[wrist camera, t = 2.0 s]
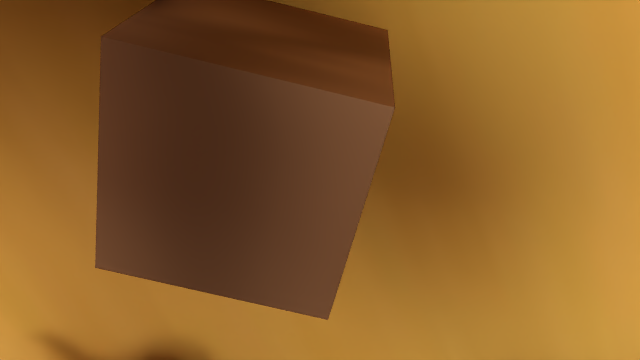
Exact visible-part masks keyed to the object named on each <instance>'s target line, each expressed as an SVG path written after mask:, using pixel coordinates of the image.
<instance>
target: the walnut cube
mask: <svg viewBox="0 0 640 360" xmlns="http://www.w3.org/2000/svg"><path fill="white" fill-rule="evenodd" d="M394 109H395V103H394V92H393V82H392V71H391V61H390V50H389V40H388V30H385V29H381V28H377V27H373V26H369V25H365V24H361V23H357V22H353V21H348V20H344V19H340V18H336V17H332V16H328V15H324V14H320V13H316V12H312V11H308V10H304V9H300V8H296V7H292V6H288V5H284V4H280V3H276V2H272V1H268V0H156V1H154V2H153V3H151V4H150V5H148V6H147V7H145V8H144V9H142V10H141V11H139V12H138V13H136V14H135V15H133V16H131V17H130V18H128V19H127V20H125V21H124V22H122V23H121V24H119V25H118V26H116V27H115V28H113V29H112V30H110V31H109V32H107V33H106V34H104V35H103V36H101V63H100V102H99V141H98V180H97V220H96V259H95V268H99V269H104V270H108V271H112V272H117V273H121V274H126V275H130V276H135V277H139V278H144V279H148V280H153V281H157V282H161V283H166V284H170V285H175V286H179V287H184V288H188V289H193V290H197V291H202V292H206V293H211V294H215V295H219V296H224V297H228V298H233V299H237V300H242V301H246V302H251V303H255V304H260V305H264V306H268V307H273V308H277V309H282V310H286V311H291V312H295V313H300V314H304V315H309V316H313V317H318V318H322V319H326V320H328V318H329V315H330V312H331V309H332V305H333V302H334V299H335V296H336V293H337V289H338V286H339V283H340V280H341V277H342V274H343V270H344V267H345V264H346V261H347V258H348V255H349V251H350V248H351V245H352V242H353V239H354V236H355V232H356V229H357V226H358V223H359V220H360V217H361V213H362V210H363V207H364V204H365V201H366V198H367V194H368V191H369V188H370V185H371V182H372V179H373V175H374V172H375V169H376V166H377V163H378V160H379V156H380V153H381V150H382V147H383V144H384V141H385V137H386V134H387V131H388V128H389V125H390V122H391V118H392V115H393V112H394Z"/></svg>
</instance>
